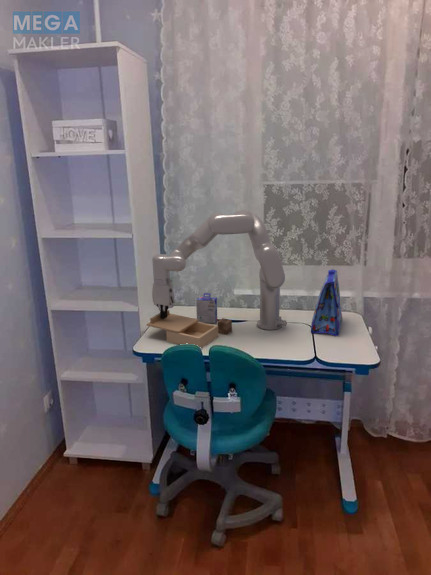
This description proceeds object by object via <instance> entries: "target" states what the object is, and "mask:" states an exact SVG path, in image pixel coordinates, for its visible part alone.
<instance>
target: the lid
mask: <svg viewBox="0 0 431 575" xmlns="http://www.w3.org/2000/svg"><path fill="white" fill-rule="evenodd" d="M149 319H150V320H149V321H150V322H147V323H146V326H147V327H150V328H155V329H159V330H165V331H166V330H167V331H172V332H176V333H180V332H181V331H183V330H185V329H186V328H188V327H190V326H191V325H193V324H195V323H196V322H198V321H199V319H197V318H194V317H189V316H183V315H179V314H174V313H170V310H169V309H168V310H167V318H165V319H161V316H160V313H158V314H156V315H154V316H152V317H150V318H149Z"/></svg>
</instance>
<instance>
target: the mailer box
mask: <svg viewBox="0 0 431 575" xmlns="http://www.w3.org/2000/svg"><path fill="white" fill-rule="evenodd" d="M165 331H166V333H165V334H166V342H168V343H172V344H175V345H179V344H186V343H188V344H195V345H198V346H199V347H201V349H202V348H205V345H206V346H208V345H209V344H210V343H212V342H213V341H215V339H218V338H219V333H218V326H217V325H215V324H212V323H202V322H196V323H195V324H193V325H191V326H190V327H188V328H186V329H185V330H183V331H181V332H180V333H176V332H172V331H167V330H165Z"/></svg>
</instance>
